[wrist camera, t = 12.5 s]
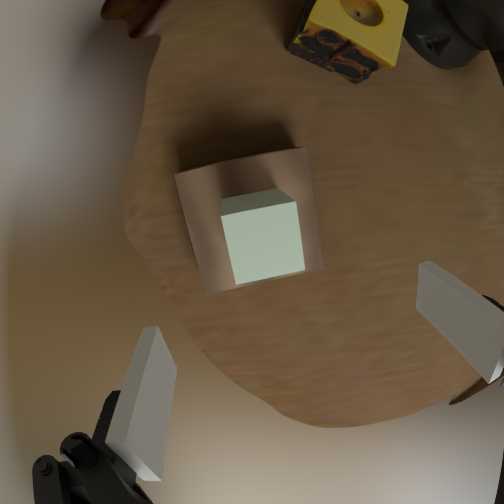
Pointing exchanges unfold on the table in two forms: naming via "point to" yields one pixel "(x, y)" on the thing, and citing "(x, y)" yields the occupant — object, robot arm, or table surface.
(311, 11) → the candle
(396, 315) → the table surface
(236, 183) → the walnut block
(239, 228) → the sage block
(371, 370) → the table surface
